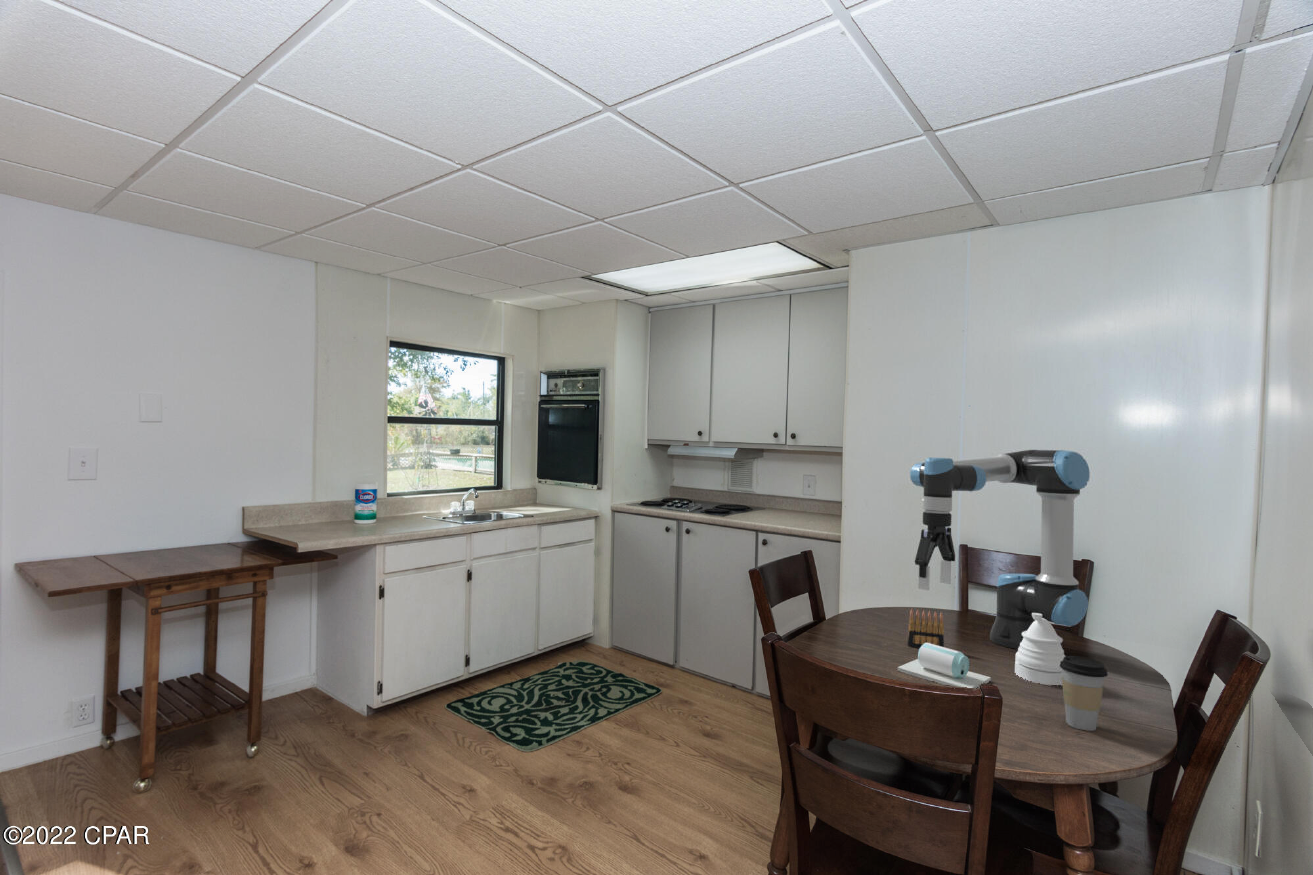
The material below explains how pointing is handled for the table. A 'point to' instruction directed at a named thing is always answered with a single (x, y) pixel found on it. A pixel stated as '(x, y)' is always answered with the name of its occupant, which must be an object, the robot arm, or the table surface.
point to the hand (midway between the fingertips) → (934, 586)
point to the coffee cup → (1082, 691)
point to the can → (943, 660)
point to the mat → (943, 676)
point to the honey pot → (1040, 653)
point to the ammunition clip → (925, 630)
